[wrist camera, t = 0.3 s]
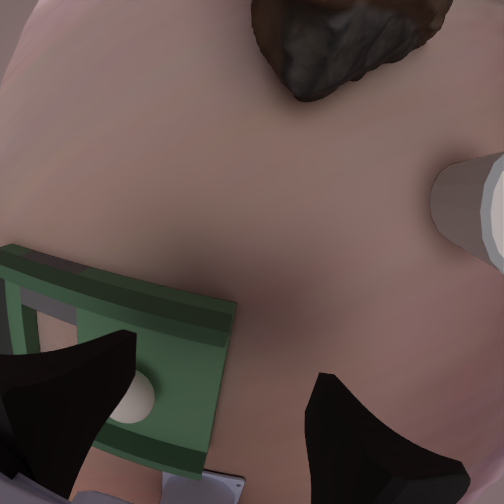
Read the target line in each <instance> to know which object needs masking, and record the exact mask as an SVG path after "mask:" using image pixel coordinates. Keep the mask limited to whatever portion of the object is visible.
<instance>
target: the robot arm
mask: <svg viewBox="0 0 504 504" xmlns="http://www.w3.org/2000/svg"><path fill="white" fill-rule="evenodd" d="M136 344H137V333H135V332H132V331H128V330H125V329H121V330H118V331H115V332H112V333H109V334H106V335H104V336H101V337H98V338H95V339H93V340H90V341H87V342H84V343H81V344H77V345H74V346H71V347H67V348H63V349H59V350H55V351H49V352H43V353H33V354H20V355H8V354H0V504H134V503H131V502H128V501H125V500H122V499H120V498H117V497H114V496H112V495H108V494H104V493H101V492H97V491H94V490H93V491H82V492H77V494H76V496H75V497H74V499H73V501H72V502H71V501H69V500H68V499H69V496H70V494H71V491H72V488H73V485H74V483H75V481H76V478H77V476H78V473H79V471H80V469H81V466H82V464H83V462H84V460H85V458H86V456H87V453H88V451H89V449H90V448H91V446H92V444H93V442H94V440H95V438H96V436H97V434H98V433H99V431H100V430H101V428H102V427H103V425H104V424H105V422H106V421H107V420H108V418H109V417H110V415H111V414H112V413H113V411H114V410H115V408H116V407H117V406H118V404H119V403H120V401H121V400H122V399H123V397H124V396H125V394H126V393H127V391H128V389H129V387H130V385H131V383H132V381H133V379H134V377H135V375H136ZM305 439H306V447H307V454H308V461H309V468H310V475H311V504H456V503H457V502H458V501H459V500H460V499H461V498H462V497H463V495H464V494H465V493H466V491H467V489H468V487H469V485H470V477H469V475H468V473H467V471H466V470H465V468H464V466H463V464H462V462H461V461H457V460H454V459H451V458H448V457H444V456H441V455H438V454H436V453H434V452H431V451H429V450H427V449H424V448H422V447H420V446H418V445H416V444H414V443H412V442H411V441H409V440H407V439H406V438H404V437H402V436H401V435H399V434H397V433H396V432H394V431H393V430H392V429H390V428H389V427H388V426H386V425H385V424H384V423H382V422H381V421H380V420H379V419H378V418H376V417H375V416H374V415H373V414H372V413H371V412H370V411H369V410H368V409H367V408H366V407H365V406H363V405H362V404H361V402H360V401H359V400H358V399H357V398H356V397H355V396H354V395H353V394H352V393H351V392H350V391H349V390H348V389H347V387H346V386H345V385H344V384H343V383H342V382H341V381H340V380H339V379H338V378H337V377H336V376H335V375H334V374H327V373H319V375H318V378H317V380H316V383H315V386H314V389H313V391H312V394H311V397H310V400H309V402H308V405H307V407H306V410H305ZM244 484H245V480H244V479H243V478H240V477H234V476H228V475H223V474H218V473H213V472H209V471H204V470H203V472H202V476H201V480H200V481H197V480H193V479H189V478H185V477H181V476H177V475H174V474H170V473H167V472H163V478H162V496H161V499H160V502H159V504H237V503H238V500H239V498H240V495H241V492H242V490H243V487H244Z"/></svg>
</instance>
